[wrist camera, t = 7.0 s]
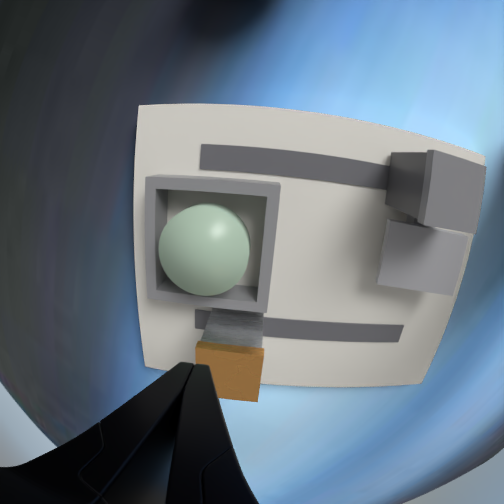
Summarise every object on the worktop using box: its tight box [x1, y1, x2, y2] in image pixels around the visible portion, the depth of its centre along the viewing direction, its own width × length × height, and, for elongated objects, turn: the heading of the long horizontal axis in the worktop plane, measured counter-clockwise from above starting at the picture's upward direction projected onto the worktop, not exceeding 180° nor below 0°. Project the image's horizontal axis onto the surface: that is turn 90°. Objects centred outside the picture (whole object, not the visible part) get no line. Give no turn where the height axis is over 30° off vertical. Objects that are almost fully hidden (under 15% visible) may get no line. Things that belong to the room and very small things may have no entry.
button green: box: [158, 202, 251, 296], centre depth 15 cm, size 4×4×2 cm
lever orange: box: [195, 307, 264, 402], centre depth 16 cm, size 3×3×5 cm
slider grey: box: [385, 150, 486, 234], centre depth 13 cm, size 3×3×5 cm
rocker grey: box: [375, 219, 468, 296], centre depth 15 cm, size 5×4×1 cm
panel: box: [134, 104, 485, 387], centre depth 17 cm, size 22×18×4 cm
